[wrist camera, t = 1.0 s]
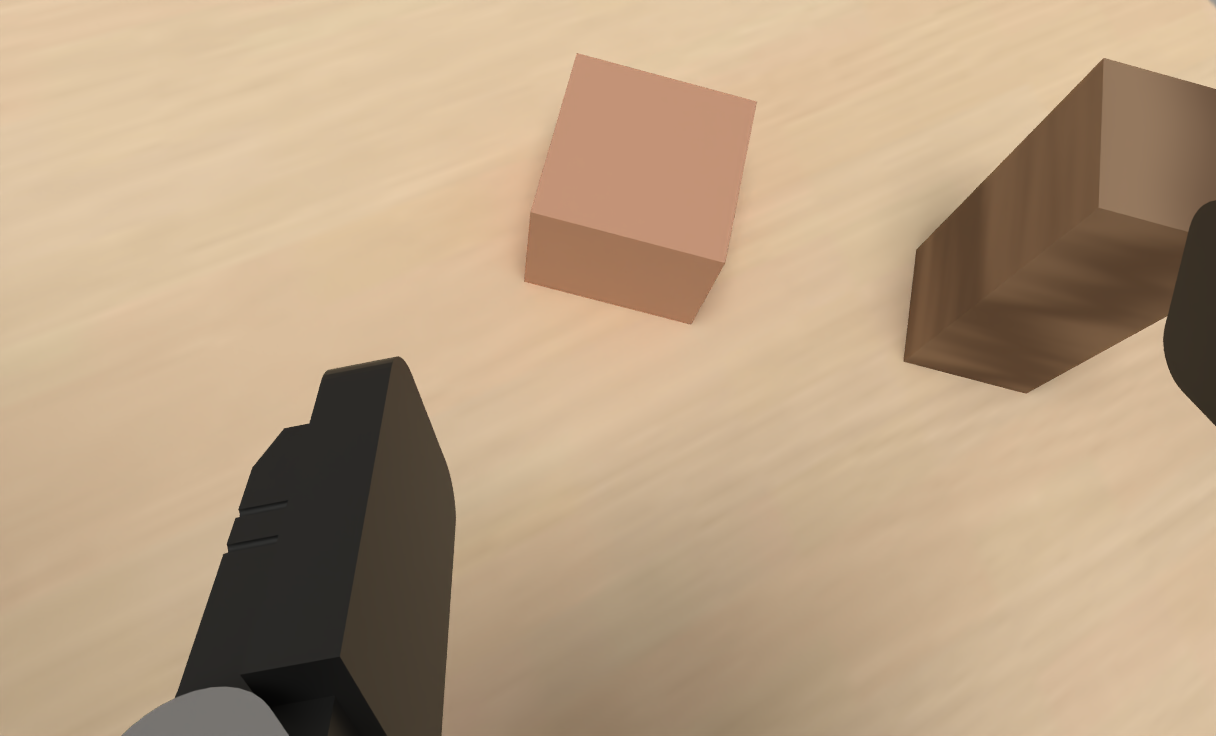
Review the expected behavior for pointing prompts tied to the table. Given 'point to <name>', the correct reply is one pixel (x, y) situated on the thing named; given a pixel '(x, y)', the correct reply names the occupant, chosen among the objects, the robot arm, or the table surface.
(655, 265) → the terracotta block
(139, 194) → the table surface
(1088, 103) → the walnut column
